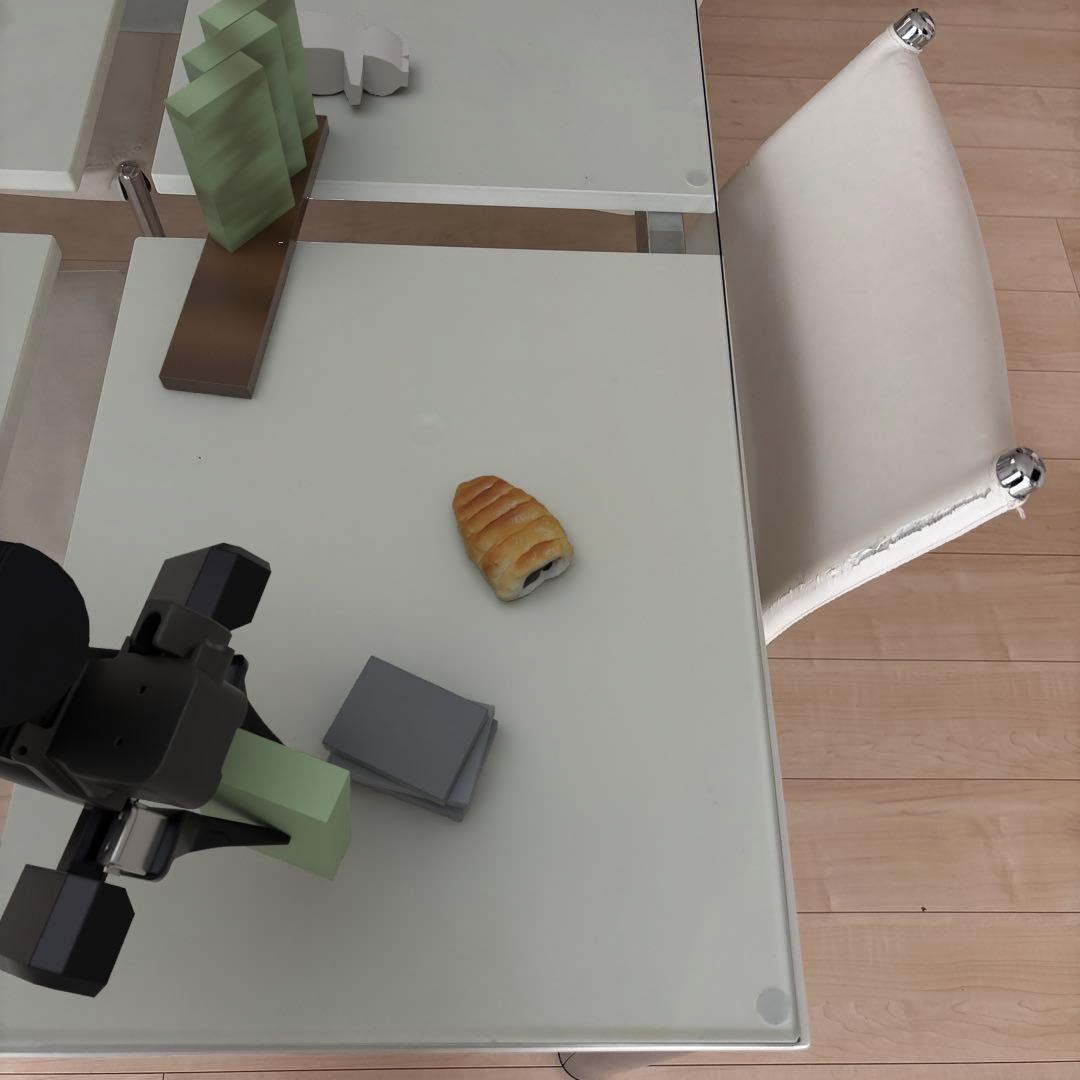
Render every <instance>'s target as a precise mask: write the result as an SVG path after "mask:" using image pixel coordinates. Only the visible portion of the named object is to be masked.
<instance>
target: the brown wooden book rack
mask: <svg viewBox="0 0 1080 1080" xmlns="http://www.w3.org/2000/svg"><path fill="white" fill-rule="evenodd" d="M297 15H298V12H297V5H296V1H295V0H220V1H219V2H217V3H215V4H213V5H212V6H211V7H209V8H207V9H206V10H204V11H203V12H201V13H198V15H197V17H198V20H199V23H200V26H201V30H202V33H203V37H204V41H203V42H202V43H200V44H199V45H197V46H196V47H194V48H192V49H191V50H189V51H188V52H186V53H185V54H183V55H181V60H182V63H183V67H184V69H185V73H186V76H187V79H188V82H189V83H188V84H186V85H185V86H183V87H182V88H181V89H179V90H177V91H176V92H174V93H172V94H171V95H170V96H167V98H165V99H164V100H163V105H164V106H165V110H166V112H167V113H166V114H167V115H168V116H167V117H168V119H169V121H170V123H171V127H172V130H173V133H174V135H175V138H176V141H177V144H178V147H179V150H180V153H181V155H182V159H183V161H184V164H185V166H186V167H185V168H186V170H187V174H188V175H189V178H190V181H191V184H192V187H193V188H194V189H193V190H194V192H195V196H196V198H197V201H198V204H199V207H200V209H201V212H202V215H203V218H204V222H205V224H206V227H207V230H208V233H207V236H206V239H205V242H204V245H203V247H202V250H201V253H200V256H199V259H198V262H197V265H196V267H195V269H194V270H195V271H194V274H193V277H192V279H191V282H190V285H189V288H188V291H187V293H186V297H185V300H184V301H183V302H184V303H183V305H182V308H181V310H180V314H179V317H178V319H177V322H176V325H175V328H174V331H173V334H172V337H171V340H170V343H169V345H168V348H167V351H166V353H165V357H164V360H163V362H162V366H161V367H160V371H159V374H158V379H159V381H160V382H161V385H162V387H163V388H164V389H165V390H166V389H167V390H173V391H182V392H192V393H200V394H207V395H215V396H223V397H233V398H239V399H241V398H242V399H249V400H251V399H252V397H253V393H254V390H255V386H256V382H257V380H258V376H259V373H260V369H261V366H262V362H263V358H264V355H265V353H266V349H267V345H268V342H269V339H270V335H271V331H272V328H273V325H274V321H275V318H276V314H277V311H278V307H279V303H280V300H281V297H282V293H283V289H284V286H285V283H286V280H287V276H288V273H289V269H290V266H291V262H292V259H293V256H294V253H295V250H296V249H295V248H296V246H297V242H298V240H299V239H298V238H299V235H300V231H301V228H302V225H303V222H304V219H305V218H304V217H305V214H306V211H307V208H308V204H309V201H310V198H311V194H312V190H313V187H314V185H315V180H316V177H315V176H317V174H316V172H317V173H318V170H317V168H318V169H319V167H320V163H321V160H320V159H322V156H323V153H324V150H323V149H325V146H324V145H326V143H327V138H328V136H329V132H330V126H329V120H328V116H327V115H325V114H316V109H315V103H314V98H313V94H312V92H311V86H310V81H309V76H308V70H307V65H306V59H305V54H304V49H303V43H302V38H301V33H300V27H299V22H298V17H297ZM328 131H329V132H328ZM327 135H328V136H327ZM325 142H326V143H325ZM322 152H323V153H322ZM321 155H322V156H321ZM318 166H319V167H318ZM314 179H315V180H314ZM307 197H310V198H307ZM279 242H283V243H279ZM295 243H296V244H295Z"/></svg>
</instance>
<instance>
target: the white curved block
mask: <svg viewBox="0 0 1080 1080" xmlns="http://www.w3.org/2000/svg"><path fill="white" fill-rule="evenodd" d="M297 17H298V22H299V27H300V33H301V38H302V43H303V49H304V54H305V59H306V65H307V70H308V76H309V81H310V86H311V92H312V95H321V96H324V95H334V94H337V93H339V92H342V91H343V92H344V93H345V95H346V97H347V100H348V102H349V105H350V106H356V105H361V101H362V97H363V91H366V92H368V93H369V94H371V95H372V94H375V95H374V96H376V95H381V96H382V97H386V96H389V95H391V94H393V93H394V92H395V91H397V90H398V89H399V88H401V87H406V88H409V87H408V86H409V71H410V70H409V69H410V67H409V65H410V60H409V59H410V42H406V41H405V42H404V41H402V40H401V38H399V36H398V35H396V33H395V32H394V31H392V30H390V29H389V28H387V27H385V26H381V25H372V26H370V27H368V28H366V19H365V15H364V14H362V13H358V12H354V13H353V15H352V16H351V17H350V18H349V19H348V20H347V21H346V22H345V21H342V19H340V18H338V17H336V16H335V15H331V14H328V13H325V12H319V11H312V10H311V11H309V10H308V11H299V12H298V13H297ZM381 96H380V97H381Z"/></svg>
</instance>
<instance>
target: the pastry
mask: <svg viewBox="0 0 1080 1080" xmlns="http://www.w3.org/2000/svg"><path fill="white" fill-rule="evenodd" d="M451 506H452V511H453V513H454V516H455V520H456V523H457V524H456V525H457V531H458V534H459V536H460V539H462V542H463V545H464V548H465V554H466V556H467V558H468V560H470V561H471V562H473V563H474V564H475V565H476V566H477V568H478V569H479V570H480V572H481V575H482V576H483V578H484V580H485V581H486V582H487V584H488V585H489V586H490V587H491V589H492V590H493V591H494V593H495V596H496V597H497V598H498V599H500V600H501V601H505V602H510V601H514V600H517V599H520V598H523V597H525V596H527V595H529V594H530V593H532V592H533V591H534V590H535V589H537V588H538V587H539V586H540V585H542V583H543V582H544V581H546V580H548V579H553V578H555V577H558V576H559V575H561V574H562V573H563V572H565V571H566V570H567V569H568V567H569V566H570V564H571V562H572V561H573V556H574V547H573V546H572V544H571V543H570V542H569V538H568V534H567V533H566V531H565V529H564V527H563V526H562V524H561V523H560V521H559V520H558V519H557V517H555V516H554V515H553V514H552V513H551V512H550V511H549V509H547V507H546V506H545V505H544V504H543V503H541V502H539V501H538V500H537V498H535V497H534V496H533V495H531V494H529V493H527V492H526V491H525V490H523V489H522V488H519V487H516V486H514V485H513V484H511V483H509V482H508V481H507V480H505V479H503V478H502V477H498V476H496V475H495V474H494V475H493V474H491V475H481V476H478V477H475V478H473V479H470V480H468V481H467V480H466V481H463V482H461V483H458V485H457V488H456V489H455V494H454V496H453V499H452V504H451Z"/></svg>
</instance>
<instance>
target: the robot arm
mask: <svg viewBox="0 0 1080 1080" xmlns="http://www.w3.org/2000/svg"><path fill="white" fill-rule="evenodd" d="M271 574H272V569H271V565H270V562H269V561H267V560H265V559H263V558H261V557H260V556H258V555H256V554H254V553H252V552H251V551H249V550H247V549H245V548H244V547H242V546H240V545H235V544H231V543H227V542H220V543H217V544H214V545H209V546H207V547H202V548H199V549H196V550H192V551H189V552H185V553H181V554H178V555H174V556H172V557H169V558H166V559H164V561H163V562H162V565H161V567H160V570H159V572H158V573H157V576H156V579H155V580H154V582H153V584H152V587H151V589H150V592H149V593H148V595H147V598H146V600H145V602H144V604H143V606H142V609H141V610H140V614H139V615H138V617H137V620H136V622H135V625H134V627H133V629H132V631H131V633H130V635H126V637H125V638H124V640H123V643H122V645H121V647H120V649H117V648H107V647H106V648H105V647H96V646H95V647H94V646H90V642H91V635H90V634H91V633H90V632H91V631H90V628H91V627H90V616H89V613H88V609H87V605H86V601H85V599H84V596H83V594H82V593H81V591H80V589H79V587H78V585H77V584H76V581H75V580H74V578H73V577H71V576H70V574H69V573H68V572H67V571H66V570H65V569H64V568H63V567H62V566H61V564H60V563H59V562H57V561H56V560H55V559H53V558H51V557H50V556H48V555H47V554H45V553H44V552H43V551H41V550H40V549H38V548H35V547H32V546H30V545H28V544H25V543H23V542H14V541H7V540H1V539H0V779H1V780H4V781H8V782H11V783H12V784H13V783H14V784H16V785H18V786H19V785H20V786H22V787H25V788H29V789H31V790H34V791H37V792H40V793H44V794H47V795H50V796H53V797H56V798H58V799H61V800H65V801H68V802H71V803H73V804H77V805H80V806H82V810H81V812H80V814H79V817H78V819H77V821H76V823H75V825H74V827H73V830H72V832H71V835H70V837H69V839H68V841H67V844H66V846H65V848H64V850H63V852H62V855H61V857H60V859H59V862H58V863H57V866H56V868H55V869H53V868H48V867H43V866H39V865H34V864H29V863H25V864H24V867H23V869H22V871H21V873H20V876H19V878H18V879H17V882H16V884H15V886H14V889H13V890H12V893H11V895H10V897H9V900H8V901H7V904H6V906H5V907H4V911H3V913H2V915H1V917H0V971H2V972H4V973H7V974H9V975H12V976H14V977H16V978H18V979H21V980H23V981H25V982H28V983H30V984H32V985H35V986H39V987H42V988H47V989H51V990H54V991H59V992H64V993H69V994H73V995H79V996H84V997H89V998H93V999H94V998H96V997H97V996H98V995H99V994H100V992H102V990H103V989H104V988H105V987H106V986H107V985H108V983H109V980H110V978H111V975H112V973H113V970H114V968H115V965H116V963H117V960H118V957H119V955H120V953H121V950H122V947H123V945H124V943H125V940H126V938H127V935H128V933H129V930H130V928H131V925H132V923H133V920H134V918H135V916H136V913H135V909H134V907H133V905H132V902H131V900H130V897H129V894H128V892H127V889H126V887H123V886H119V885H116V884H112V883H109V882H106V880H107V878H108V876H109V875H110V876H116V877H125V878H128V879H129V878H130V879H136V880H140V881H144V882H150V883H159V882H161V881H163V880H164V879H165V878H166V876H167V875H168V874H169V871H170V869H171V867H172V864H173V863H174V861H175V860H176V859H178V858H181V857H183V856H185V855H188V854H191V853H195V852H200V851H207V850H211V849H219V848H232V847H233V848H234V847H235V848H236V847H237V848H239V847H245V846H270V845H289V843H290V840H291V836H289V835H287V834H284V833H282V832H279V831H277V830H274V829H272V828H268V827H263V826H258V825H253V824H248V823H243V822H237V821H232V820H227V819H222V818H217V817H212V816H207V815H202V813H198V812H195V811H191V810H196V809H199V808H200V807H202V806H203V805H205V804H206V803H207V802H209V801H210V800H211V798H212V797H213V796H214V794H215V793H216V791H217V789H218V786H219V784H220V782H221V779H222V766H223V764H224V761H225V758H226V756H227V753H228V751H229V748H230V745H231V743H232V740H233V738H234V735H235V732H236V730H237V729H238V728H240V729H243V730H245V731H248V732H250V733H253V734H255V735H258V736H261V737H263V738H266V739H268V740H271V741H274V742H276V743H279V744H281V745H284V746H286V744H284V742H283V741H282V740H281V739H280V738H279V737H278V736H277V735H276V733H274V732H273V730H272V729H271V728H270V727H269V726H268V725H267V724H266V722H265V721H264V720H263V719H262V717H260V715H259V714H258V712H257V710H256V709H255V708H254V706H253V705H252V704H251V702H250V700H249V698H248V693H247V686H246V676H247V673H248V671H249V667H250V665H249V660H248V659H247V658H246V656H245V655H243V654H242V653H237V654H236V650H235V649H234V648H233V647H231V646H229V645H230V642H231V640H232V638H233V634H232V631H234V630H237V629H239V628H243V627H244V626H247V625H250V624H252V622H253V620H254V617H255V614H256V612H257V609H258V607H259V604H260V603H261V599H262V597H263V595H264V592H265V590H266V587H267V585H268V582H269V580H270V577H271ZM141 800H142V801H145V802H146V801H147V802H151V803H157V804H162V805H167V806H172V807H176V808H170V807H160V806H159V807H158V806H149V805H147V804H145V803H142V802H140V801H141Z"/></svg>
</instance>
